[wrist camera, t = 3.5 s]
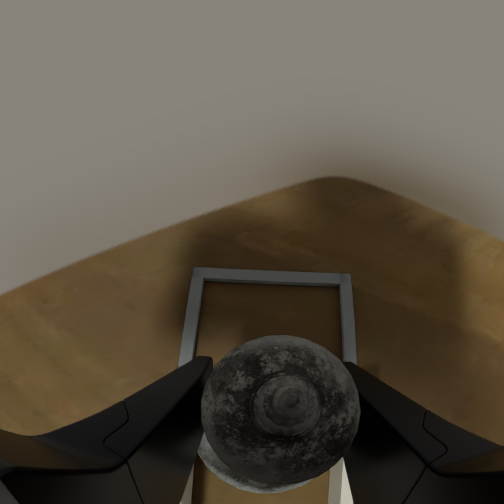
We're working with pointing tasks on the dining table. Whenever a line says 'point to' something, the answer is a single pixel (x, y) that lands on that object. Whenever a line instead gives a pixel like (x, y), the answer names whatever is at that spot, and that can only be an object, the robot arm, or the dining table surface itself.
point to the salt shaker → (277, 414)
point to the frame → (268, 278)
